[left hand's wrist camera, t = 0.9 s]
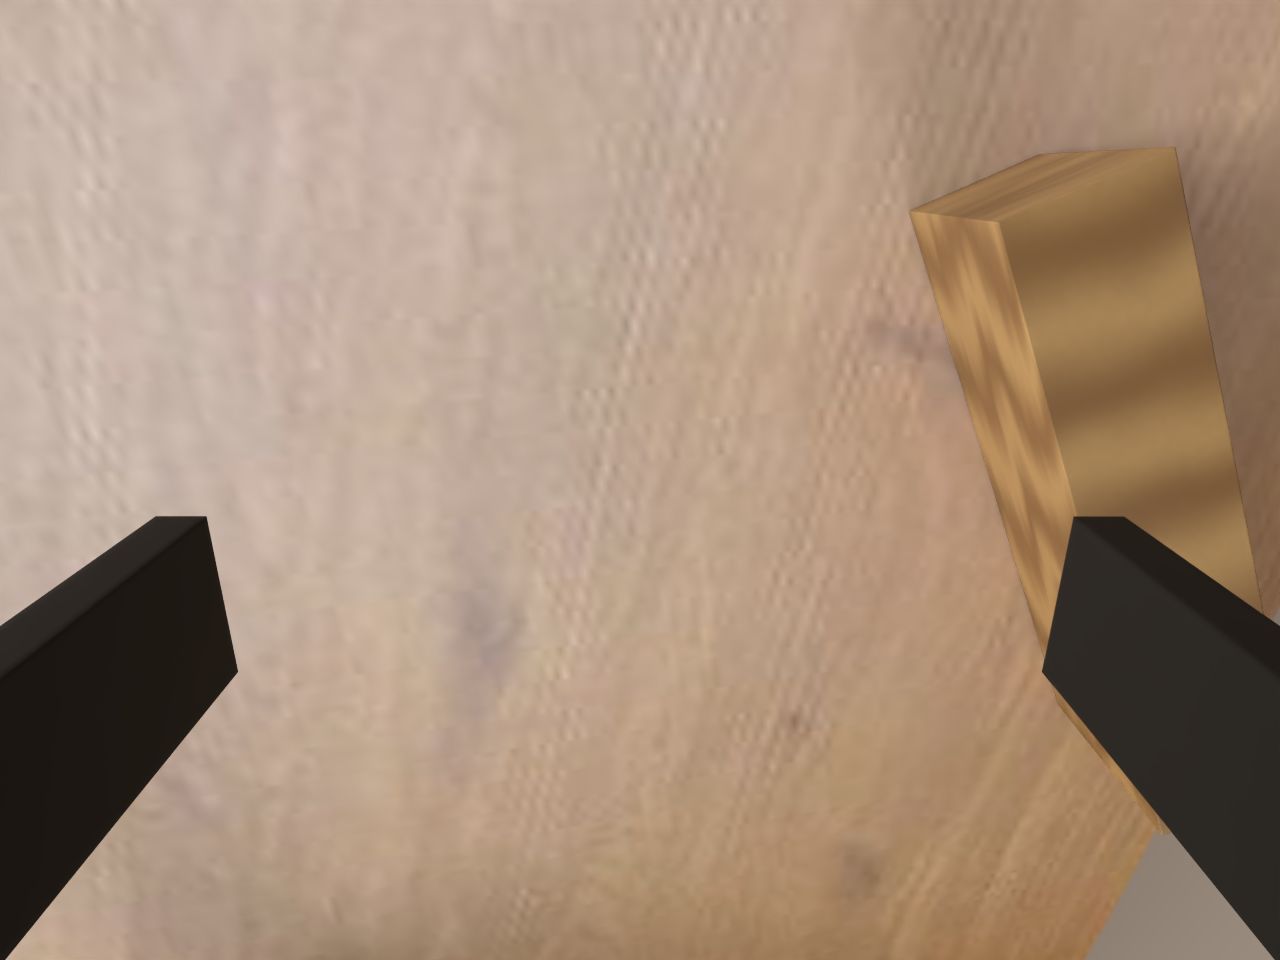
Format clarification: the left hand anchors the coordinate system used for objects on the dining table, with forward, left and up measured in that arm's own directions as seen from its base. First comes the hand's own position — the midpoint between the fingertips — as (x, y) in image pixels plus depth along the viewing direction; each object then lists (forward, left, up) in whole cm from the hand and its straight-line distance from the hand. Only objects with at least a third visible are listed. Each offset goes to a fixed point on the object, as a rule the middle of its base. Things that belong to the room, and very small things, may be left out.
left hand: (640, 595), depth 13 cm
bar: (+1, -19, -22) cm, 29 cm away
